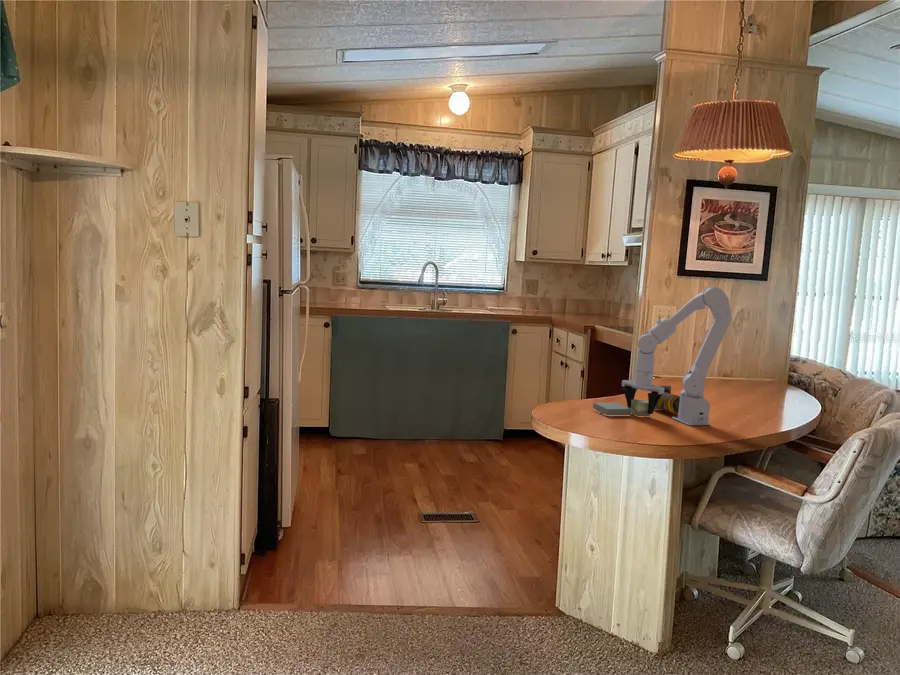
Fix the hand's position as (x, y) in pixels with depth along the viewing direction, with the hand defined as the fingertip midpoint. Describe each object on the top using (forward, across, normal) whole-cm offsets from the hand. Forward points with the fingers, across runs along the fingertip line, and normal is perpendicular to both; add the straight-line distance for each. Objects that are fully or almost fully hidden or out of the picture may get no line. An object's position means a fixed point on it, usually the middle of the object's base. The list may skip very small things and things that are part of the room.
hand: (640, 411), depth 224 cm
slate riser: (+2, +7, +6) cm, 9 cm away
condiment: (-3, +1, -15) cm, 15 cm away
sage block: (+2, 0, 0) cm, 2 cm away
